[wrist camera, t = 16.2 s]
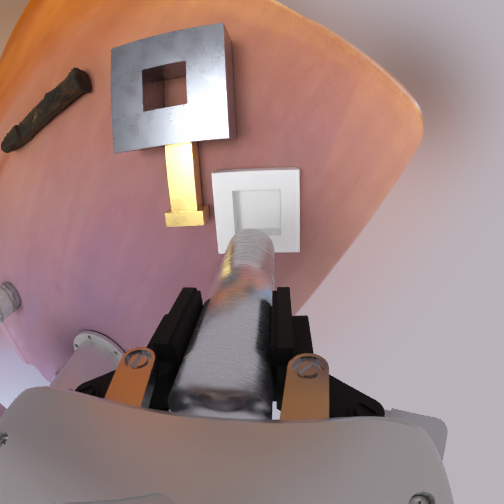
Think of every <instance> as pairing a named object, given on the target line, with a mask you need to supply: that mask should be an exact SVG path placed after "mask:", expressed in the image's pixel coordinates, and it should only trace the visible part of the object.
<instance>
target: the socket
mask: <svg viewBox="0 0 504 504" xmlns="http://www.w3.org/2000/svg"><path fill="white" fill-rule="evenodd" d="M182 76H186V80H187V103H188V104H184V105H178V106H172V107H166V108H164V87H163V80H166V79H171V78H176V77H182ZM111 110H112V129H113V143H114V154H115V153H121V152H128V151H136V150H142V149H148V148H155V147H162V146H165V145H172V144H179V143H187V142H202V141H212V140H224V139H237V130H236V112H235V94H234V75H233V55H232V41H231V39H230V37H229V35H228V32H227V30H226V28H225V26H224V23H220V24H212V25H206V26H199V27H193V28H188V29H183V30H178V31H173V32H169V33H164V34H160V35H156V36H152V37H148V38H145V39H141V40H138V41H134V42H131V43H128V44H125V45H122V46H119V47H116V48H113V49H112V50H111Z"/></svg>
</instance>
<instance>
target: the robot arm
mask: <svg viewBox="0 0 504 504" xmlns="http://www.w3.org/2000/svg"><path fill="white" fill-rule="evenodd" d="M202 308H203V303H202V297H201V292H200V291H197V289H196V288H185V287H184V288H183V289H182V291H181V292H180V294H179V296H178V298H177V299H176V301H175V303H174V305H173V307H172V308H171V310H170V312H169V314H166V315H165V316H164V317H163V319H162V320H161V322H160V324H159V326H158V328H157V329H156V331H155V333H154V335H153V337H152V338H151V340H150V342H149V344H148V346H147V348H145V347H137V348H134V349H131V350H129V351H127V352H126V353H124V352H123V350H122V349H121V348H120V347H119V346H118V345H117V344H116V343H114V342H113V341H112V340H110V339H109V338H107V337H106V336H104V335H102V334H100V333H97V332H94V331H82V332H80V333H79V334H78V335H77V336H76V337H75V339H74V342H73V346H74V350H75V352H74V353H73V354H72V356H71V357H70V358H69V360H68V361H67V362H66V364H65V365H64V366H63V368H62V369H61V370H60V372H59V373H58V374H57V376H56V377H55V379H54V380H53V381H52V383H51V384H50V386H49V387H48V386H43V387H33V388H29V389H26V390H25V391H23V392H22V393H21V394H20V395H19V396H18V397H17V398H16V399H15V400H14V401H13V403H11V405H10V406H9V407H8V409H6V408H5V407H4V406H3V405H2V404H0V504H454V503H453V498H452V493H451V489H450V486H449V482H448V478H447V475H446V471H445V468H444V465H443V462H442V459H443V454H444V450H445V444H446V438H447V427H446V425H445V423H444V422H443V421H442V420H440V419H438V418H435V417H430V416H424V415H419V414H415V413H410V412H406V411H401V410H397V409H393V408H392V409H391V411H388V410H384V408H383V407H382V405H381V404H380V403H379V402H377V401H376V400H374V399H372V398H370V397H369V396H367V395H365V394H363V393H361V392H360V391H358V390H356V389H354V388H352V387H350V386H349V385H347V384H345V383H343V382H342V381H340V380H338V379H336V378H334V377H333V376H331V375H329V366H328V363H327V361H326V360H325V359H324V358H322V357H321V356H319V355H316V354H313V347H312V341H311V334H310V327H309V321H308V316H292V312H291V300H290V288H289V287H277V291H272V323H271V371H272V374H273V400H272V401H277V409H278V410H280V411H281V414H280V420H257V419H234V418H220V417H208V416H198V415H190V414H182V413H175V412H171V410H170V409H169V406H168V397H169V394H170V391H171V389H172V386H173V383H174V381H175V378H176V375H177V373H178V370H179V367H180V365H181V362H182V360H183V357H184V354H185V352H186V349H187V347H188V344H189V341H190V339H191V336H192V334H193V331H194V328H195V326H196V323H197V321H198V318H199V316H200V313H201V311H202Z"/></svg>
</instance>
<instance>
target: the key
mask: <svg viewBox="0 0 504 504" xmlns="http://www.w3.org/2000/svg"><path fill="white" fill-rule="evenodd" d="M165 153H166V164H167V175H168V184H169V193H170V202H171V209H170V210H169V211H167V212H166V213H165V218H166V225H167V227H175V226H196V225H205V223H206V222H207V221H208V219H209V218H210V215H209V205H203V202H202V192H201V180H200V168H199V155H198V142H187V143H179V144H172V145H165Z"/></svg>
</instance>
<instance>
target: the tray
mask: <svg viewBox="0 0 504 504" xmlns="http://www.w3.org/2000/svg"><path fill="white" fill-rule="evenodd" d="M212 185H213V198H214V209H215V220H216V231H217V241H218V251H219V254H225V252H226V249H227V247H228V244H229V242H230V240H231V238H232V237H233V236H234V235H235V234H236V233H237V232H239V231H241V230H244V229H257V230H260V231H262V232H264V233H266V234H267V235H268V236H269V237H270V239H271V240H272V242H273V244H274V249H275V253H276V252H300V181H299V169H298V168H297V167H275V168H248V169H229V170H217V171H215V172H213V173H212Z"/></svg>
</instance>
